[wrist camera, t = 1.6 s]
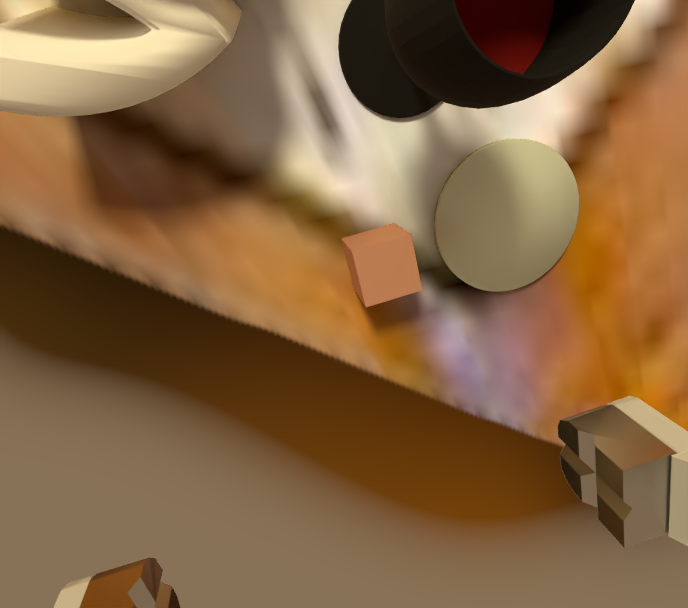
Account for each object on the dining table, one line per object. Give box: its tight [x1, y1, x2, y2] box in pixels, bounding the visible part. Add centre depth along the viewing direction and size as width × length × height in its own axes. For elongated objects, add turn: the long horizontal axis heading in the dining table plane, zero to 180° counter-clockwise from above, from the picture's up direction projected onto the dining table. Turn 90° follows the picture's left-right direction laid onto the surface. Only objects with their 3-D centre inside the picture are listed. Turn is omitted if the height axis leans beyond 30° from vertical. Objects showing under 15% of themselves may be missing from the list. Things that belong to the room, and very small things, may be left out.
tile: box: [434, 139, 579, 292], centre depth 43 cm, size 14×14×1 cm
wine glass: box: [338, 0, 635, 118], centre depth 27 cm, size 10×10×20 cm
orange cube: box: [341, 223, 422, 307], centre depth 40 cm, size 5×5×5 cm
